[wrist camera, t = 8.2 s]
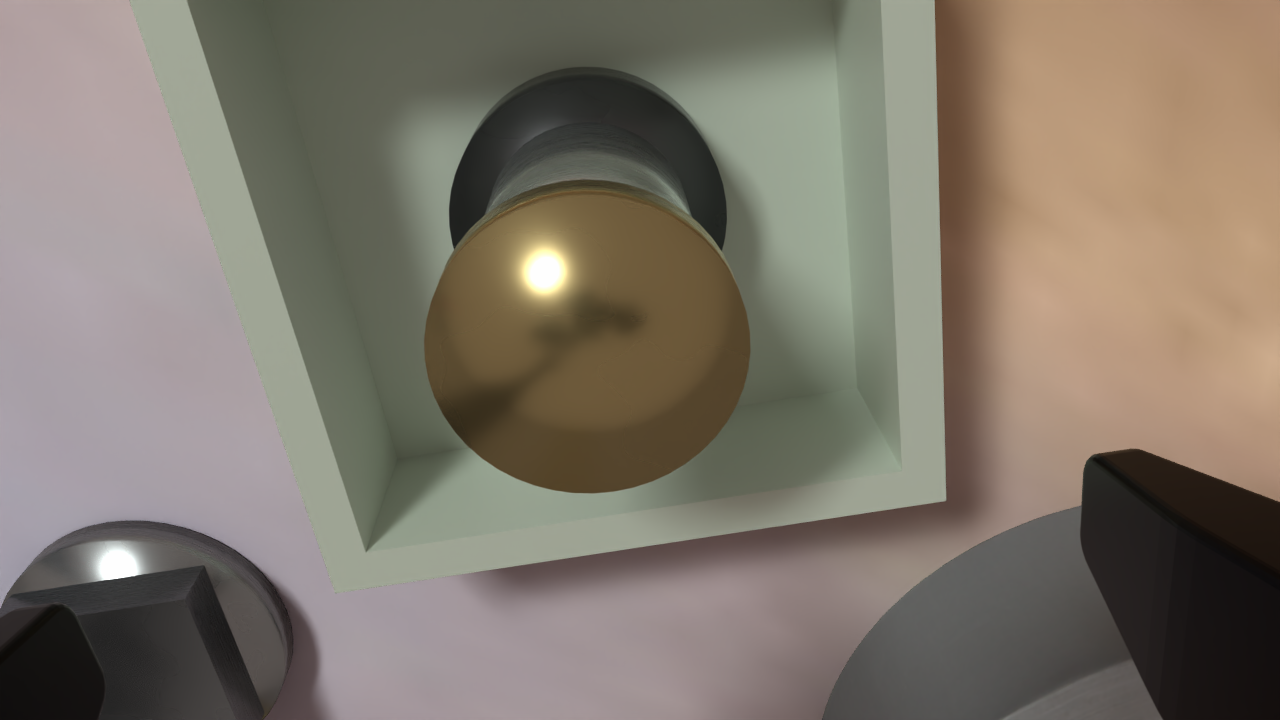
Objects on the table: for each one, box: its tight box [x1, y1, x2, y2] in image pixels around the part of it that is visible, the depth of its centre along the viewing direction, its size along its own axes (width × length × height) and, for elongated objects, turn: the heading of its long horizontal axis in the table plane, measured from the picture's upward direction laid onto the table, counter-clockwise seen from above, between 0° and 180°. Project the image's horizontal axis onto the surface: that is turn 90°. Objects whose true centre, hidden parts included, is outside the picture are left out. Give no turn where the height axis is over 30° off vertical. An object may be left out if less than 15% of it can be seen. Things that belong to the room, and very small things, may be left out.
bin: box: [129, 0, 946, 593], centre depth 18 cm, size 12×12×4 cm
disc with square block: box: [0, 521, 293, 720], centre depth 23 cm, size 6×6×2 cm
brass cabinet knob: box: [424, 67, 751, 494], centre depth 16 cm, size 5×5×7 cm
